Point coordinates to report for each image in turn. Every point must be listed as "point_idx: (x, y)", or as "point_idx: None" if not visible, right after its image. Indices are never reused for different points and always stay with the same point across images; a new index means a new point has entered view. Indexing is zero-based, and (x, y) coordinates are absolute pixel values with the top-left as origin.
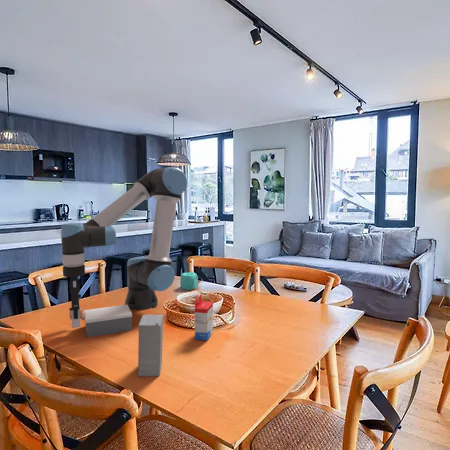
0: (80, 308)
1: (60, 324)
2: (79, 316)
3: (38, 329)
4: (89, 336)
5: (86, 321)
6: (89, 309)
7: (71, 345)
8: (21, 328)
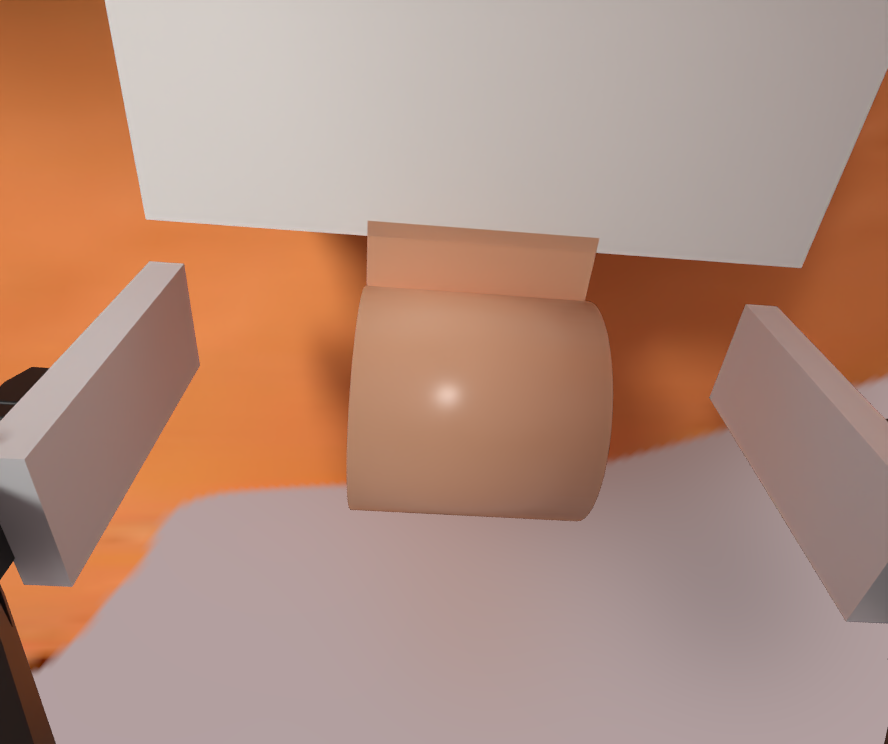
0: (468, 380)
1: None
2: (869, 410)
3: (151, 531)
4: None
5: (801, 239)
6: (129, 106)
7: (735, 317)
8: (88, 617)
